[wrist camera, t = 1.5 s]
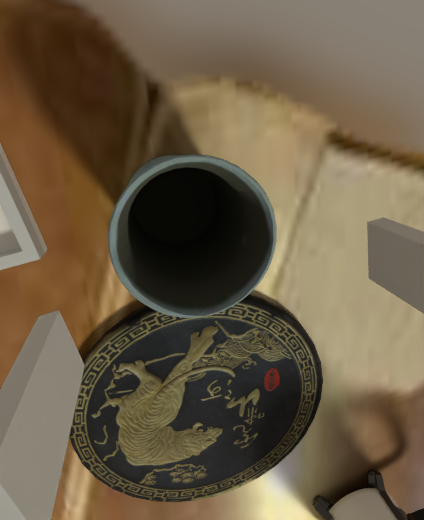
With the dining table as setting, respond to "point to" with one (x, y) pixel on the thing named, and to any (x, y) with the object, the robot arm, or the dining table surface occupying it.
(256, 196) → the teal cup
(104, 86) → the dining table surface
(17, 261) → the tray
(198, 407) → the decorative plate
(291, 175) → the dining table surface
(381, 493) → the coffee press
